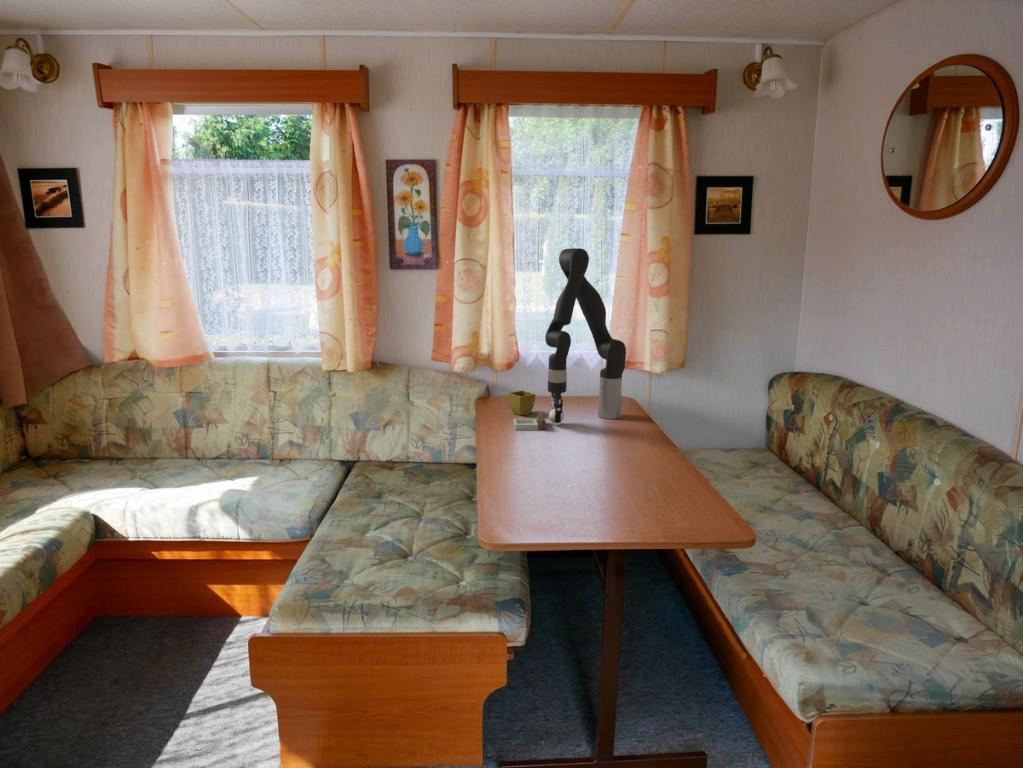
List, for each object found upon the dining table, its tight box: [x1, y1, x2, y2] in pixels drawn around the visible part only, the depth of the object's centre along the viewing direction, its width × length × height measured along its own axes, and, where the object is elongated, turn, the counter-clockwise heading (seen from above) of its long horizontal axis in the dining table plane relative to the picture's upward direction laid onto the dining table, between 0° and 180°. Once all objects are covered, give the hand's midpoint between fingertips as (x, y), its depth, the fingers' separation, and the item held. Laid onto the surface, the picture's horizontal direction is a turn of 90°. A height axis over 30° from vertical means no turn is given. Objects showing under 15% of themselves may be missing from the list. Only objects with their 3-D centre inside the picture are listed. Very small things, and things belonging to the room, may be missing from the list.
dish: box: [512, 418, 539, 431], centre depth 272 cm, size 9×9×2 cm
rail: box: [536, 412, 548, 432], centre depth 273 cm, size 3×12×4 cm, turn 5°
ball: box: [548, 408, 565, 424], centre depth 275 cm, size 6×6×6 cm
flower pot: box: [507, 390, 536, 416], centre depth 291 cm, size 9×9×9 cm
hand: (556, 420), depth 275 cm, fingers closed on ball, 6 cm apart
